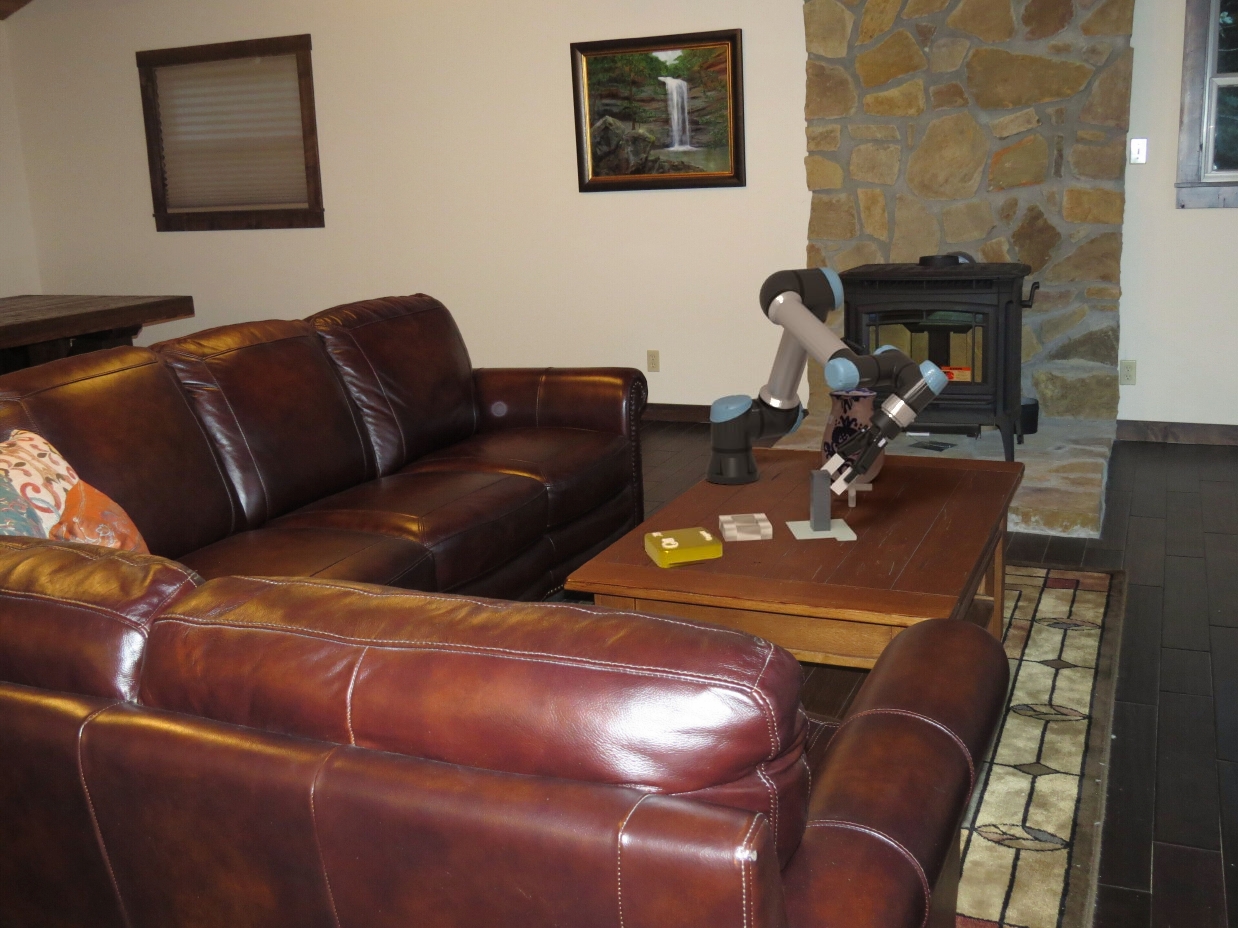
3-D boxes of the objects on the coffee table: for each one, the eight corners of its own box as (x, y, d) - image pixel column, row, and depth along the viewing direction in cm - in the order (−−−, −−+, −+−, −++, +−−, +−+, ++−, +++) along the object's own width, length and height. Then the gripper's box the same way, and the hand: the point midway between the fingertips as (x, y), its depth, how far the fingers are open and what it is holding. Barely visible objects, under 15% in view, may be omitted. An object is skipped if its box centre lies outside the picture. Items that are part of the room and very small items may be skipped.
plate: (785, 525, 276) (785, 521, 275) (842, 522, 276) (842, 518, 276) (796, 543, 262) (796, 539, 262) (856, 539, 262) (856, 535, 262)
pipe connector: (872, 511, 284) (872, 473, 282) (831, 511, 286) (832, 473, 284) (871, 500, 294) (872, 463, 291) (832, 500, 296) (832, 463, 293)
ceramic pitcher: (814, 487, 309) (814, 397, 303) (830, 468, 328) (830, 384, 322) (878, 491, 303) (879, 399, 297) (891, 472, 321) (893, 385, 316)
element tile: (725, 562, 252) (724, 542, 251) (661, 570, 249) (660, 549, 248) (704, 543, 266) (703, 524, 265) (643, 550, 263) (642, 531, 262)
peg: (810, 526, 271) (810, 470, 267) (826, 525, 271) (826, 469, 267) (813, 531, 267) (813, 474, 263) (830, 530, 267) (830, 473, 264)
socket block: (719, 531, 273) (718, 515, 273) (764, 528, 274) (764, 513, 273) (725, 545, 263) (725, 528, 262) (772, 542, 263) (772, 526, 262)
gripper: (918, 440, 251) (851, 508, 254) (888, 418, 275) (827, 480, 278) (895, 418, 249) (828, 487, 253) (866, 397, 274) (805, 460, 277)
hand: (827, 483), depth 265 cm, fingers open, 13 cm apart
